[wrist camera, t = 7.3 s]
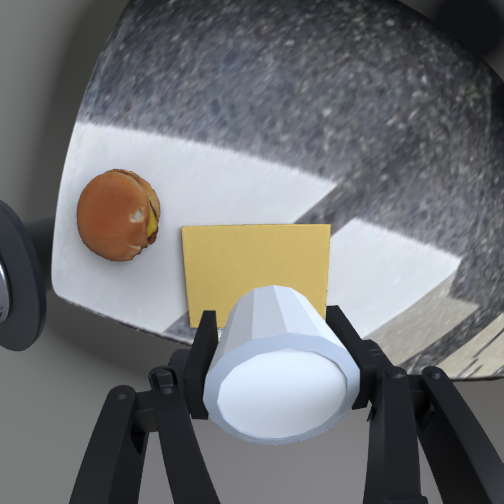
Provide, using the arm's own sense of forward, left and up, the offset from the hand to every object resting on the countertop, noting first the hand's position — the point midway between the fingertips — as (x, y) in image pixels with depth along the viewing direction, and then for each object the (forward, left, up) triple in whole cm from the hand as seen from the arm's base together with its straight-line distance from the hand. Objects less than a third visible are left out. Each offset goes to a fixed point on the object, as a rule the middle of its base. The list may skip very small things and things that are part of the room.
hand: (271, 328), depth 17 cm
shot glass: (0, 0, 0) cm, 0 cm away
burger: (-15, +6, -14) cm, 22 cm away
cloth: (0, -2, -14) cm, 14 cm away
